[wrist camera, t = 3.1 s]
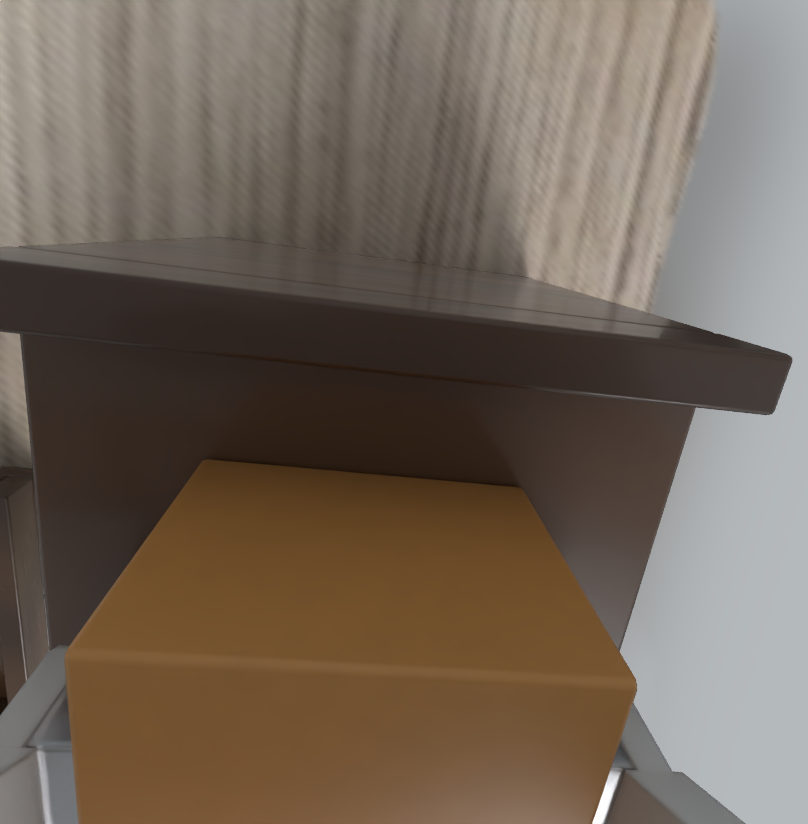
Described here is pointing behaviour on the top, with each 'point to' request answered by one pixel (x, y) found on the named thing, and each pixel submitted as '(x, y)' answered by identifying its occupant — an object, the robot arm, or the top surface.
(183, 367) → the cubby
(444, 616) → the cardboard-colored box
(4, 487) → the shelf
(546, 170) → the top surface
